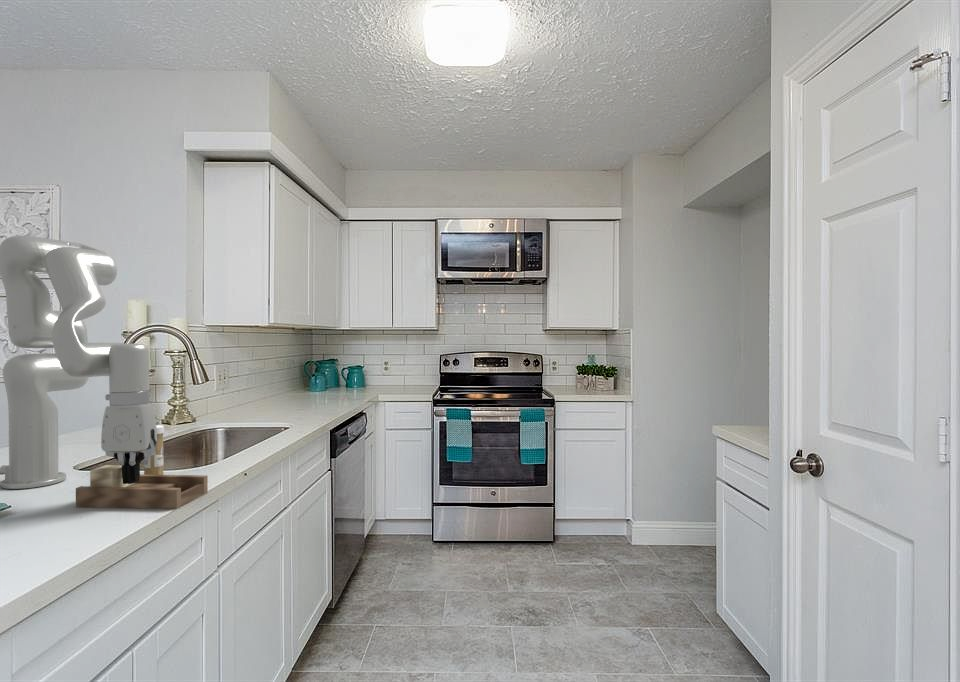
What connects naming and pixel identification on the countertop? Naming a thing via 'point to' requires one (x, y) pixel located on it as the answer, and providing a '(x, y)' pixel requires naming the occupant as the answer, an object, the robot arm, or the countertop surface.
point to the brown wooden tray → (146, 492)
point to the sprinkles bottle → (155, 456)
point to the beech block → (107, 476)
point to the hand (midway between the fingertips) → (131, 482)
